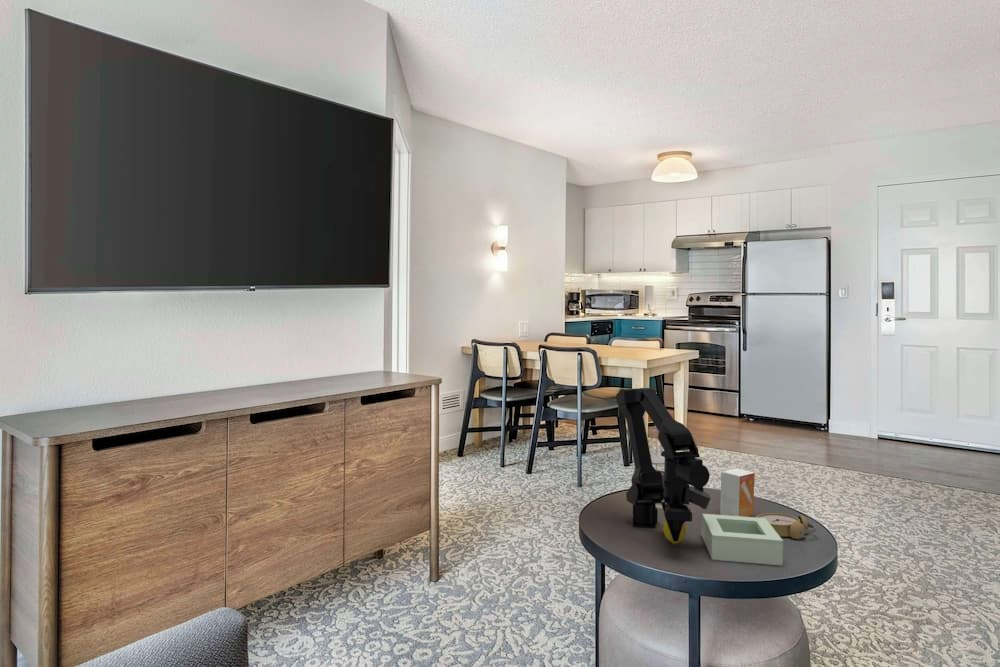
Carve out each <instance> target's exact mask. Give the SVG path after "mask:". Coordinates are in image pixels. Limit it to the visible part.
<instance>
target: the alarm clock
mask: <svg viewBox="0 0 1000 667" xmlns="http://www.w3.org/2000/svg"><path fill="white" fill-rule="evenodd" d="M756 518H766V519H767V521H768V522H769V523H770V525H771V526H772V527H773V528H774V530H775V531H776V532H777V534H778V535H779V536H780V537H791V538H792V539H794V540H801V539H802V538H804V537H805V534H813V533H815V532H816V526H815V525H814V524H812V523H809V522H808V519H807V518H806V517H805V516H804V515H803V516H802V515H798V517H796V516H793V515H790V514H785V513H777V512H770V513H761V514H758V515H756ZM809 528H810V529H809Z"/></svg>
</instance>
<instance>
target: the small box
mask: <svg viewBox="0 0 1000 667" xmlns="http://www.w3.org/2000/svg"><path fill="white" fill-rule="evenodd" d="M720 474H721V475H720V503H719V504H720V505H719V506H720V509H719V515H728V516H742V517H753V516H754V511H755V510H754V507H755V505H754V503H755V502H754V501H755V472H752V471H749V470H745V469H741V468H738V467H735V468H732V469H727V470H724V471H721V472H720Z"/></svg>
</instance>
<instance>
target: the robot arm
mask: <svg viewBox="0 0 1000 667" xmlns="http://www.w3.org/2000/svg"><path fill="white" fill-rule="evenodd" d="M615 401H616V403H617V406H618V411H619V412H620V413H621V415H622V416H623V417H624V418H625V419H626V424H627V430H628V435H629V441H630V442H629V443H630V445H631V452H632V457H633V463H634V472H633V474H632V476H631V486H629V488H628V490H627V491H626V493H625V496H626V501H627V502H629V503H630V504H632V510H631V512H632V513H631V514H632V515H631V516H632V517H631V526H632V527H637V528H638V527H639V528H652V529H655V528H657V524H658V520H659V518H658V512H659V511H658V509H659V508H657V507H656V504H655V503H661V504H662V507H663V508H662V510H663V513H664V518H665V520H666V521H667V524H668V527H669V529H670V532H671V535H672V538H673V540H674V541H678V539H679V536H680V532H681V529H682V526H683V523H687V522H693V512H692V510H691V508H690V507H689V505H690V503H691V504H693V505H695V506H698V507H700V508H701V509H703V510H707V508H708V506H709V504H710V501H711V498H712V497H711V496H710V494H709V493H707V491H704V487H705V486H706V485H707V484H708V483H709V481H710V476H711V475H710V472H709V469H708V467H707V466H706V465H705V464H704V463H703V462H704V461H703V459H701V458H700V457H701V456H700V455H701V454H700V453H699V449H698V446H697V444H696V442H695V440H694V437H693V434H692V433H691V431H690V430H689V429H688V427H686V426H685V425H684V424H683V423H681V422H679V421H677V420H675V418H673V416H672V415H671V413H670V412H669V411H668V409H667V408H666V407H665V405H664V403H663V402H662V401H661V400H660V398H659V397H658V396H657V391H656V389H654V388H653V387H640V388H637V387H635V388H620V390H619V391H618V392H617V393H616V395H615ZM645 413H646V414H647V415H648V417H649V418H650V420H651V422H652V423H653V424H654V426H656V427H657V429H656V430H657V440H658V441H659V443H660V446H661V447H662V449H663V451H662V452H661V453H660V456H663V457H665V462H664V464H663V465H664V467H663V468H664V470H663V471H664V478H663V481H662V474H661V472H660V471H661V470H659V471H656V467H654V466H653V465H654V464H652V460H651V451H650V445H649V444H650V443H649V439H648V435H647V428H646V423H645V419H644V416H645ZM663 482H664V484H663ZM663 499H664V502H662V501H663Z"/></svg>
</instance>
